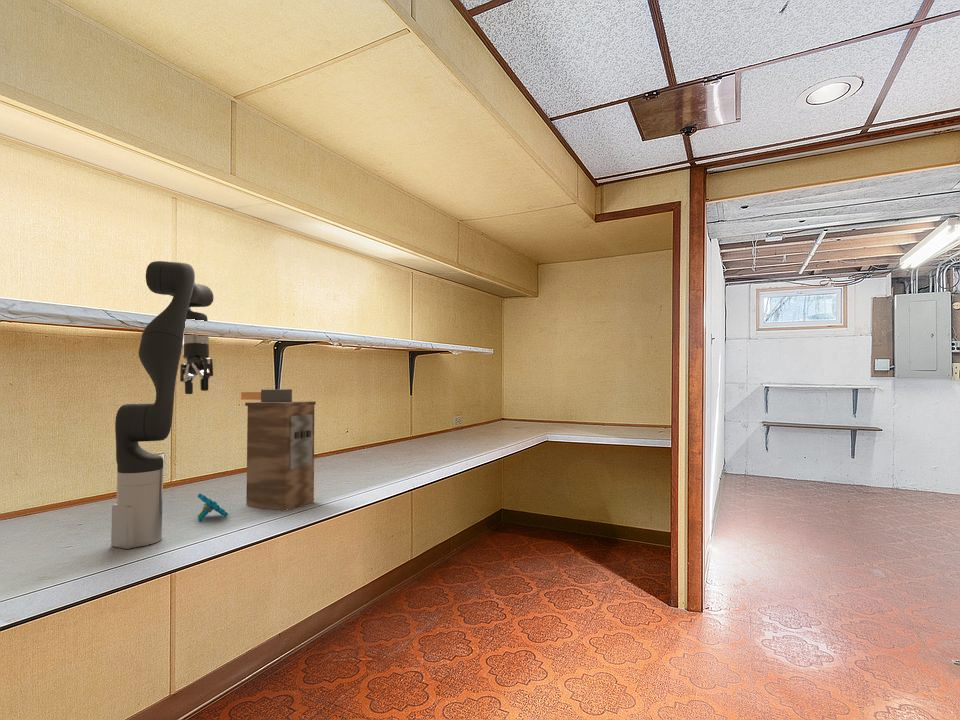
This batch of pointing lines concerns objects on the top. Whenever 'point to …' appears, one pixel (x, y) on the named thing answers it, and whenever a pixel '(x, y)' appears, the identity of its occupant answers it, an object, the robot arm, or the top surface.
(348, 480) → the top surface
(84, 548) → the top surface
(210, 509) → the teal plastic lumpy figure
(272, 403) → the stand
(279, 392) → the block
